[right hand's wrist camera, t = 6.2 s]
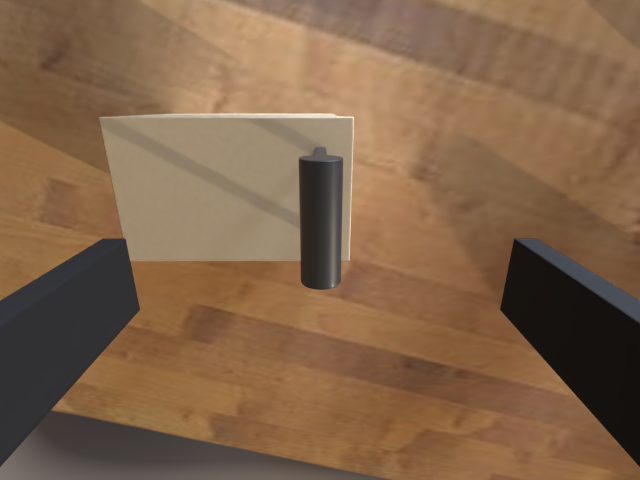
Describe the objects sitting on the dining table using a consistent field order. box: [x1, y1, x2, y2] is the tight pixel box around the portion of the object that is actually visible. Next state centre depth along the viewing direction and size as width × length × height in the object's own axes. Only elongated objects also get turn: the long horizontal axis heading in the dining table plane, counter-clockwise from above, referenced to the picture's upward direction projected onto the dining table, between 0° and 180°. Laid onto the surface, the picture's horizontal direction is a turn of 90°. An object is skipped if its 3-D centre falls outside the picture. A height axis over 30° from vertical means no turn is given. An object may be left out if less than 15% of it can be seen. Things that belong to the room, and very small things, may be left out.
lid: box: [99, 117, 354, 290], centre depth 21 cm, size 16×10×8 cm, turn 90°
